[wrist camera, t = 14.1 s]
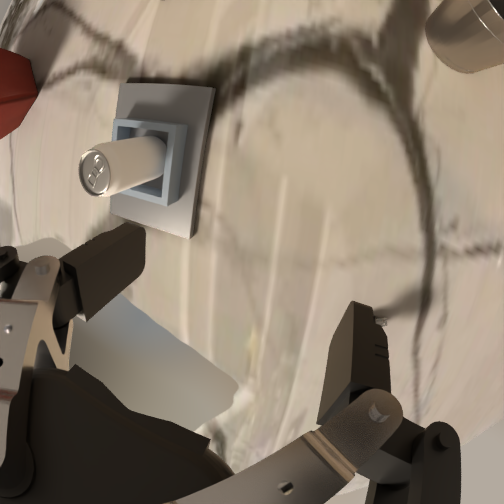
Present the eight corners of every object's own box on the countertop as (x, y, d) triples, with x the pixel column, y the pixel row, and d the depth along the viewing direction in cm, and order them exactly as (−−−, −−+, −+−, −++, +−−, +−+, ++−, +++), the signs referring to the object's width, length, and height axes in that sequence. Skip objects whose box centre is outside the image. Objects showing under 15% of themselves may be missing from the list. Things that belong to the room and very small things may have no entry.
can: (178, 154, 37) (121, 169, 27) (155, 187, 40) (99, 211, 30) (149, 126, 36) (88, 134, 26) (129, 160, 40) (70, 177, 29)
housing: (125, 83, 36) (107, 82, 32) (215, 88, 33) (201, 85, 29) (114, 210, 46) (98, 218, 42) (192, 236, 43) (179, 247, 40)
